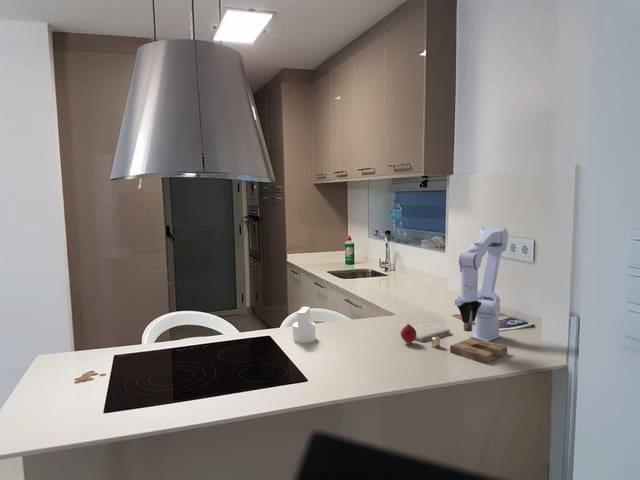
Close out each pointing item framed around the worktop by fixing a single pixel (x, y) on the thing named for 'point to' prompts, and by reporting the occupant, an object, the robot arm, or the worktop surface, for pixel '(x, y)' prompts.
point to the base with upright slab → (304, 327)
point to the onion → (408, 334)
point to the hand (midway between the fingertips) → (468, 321)
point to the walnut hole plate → (478, 350)
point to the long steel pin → (469, 325)
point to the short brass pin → (436, 342)
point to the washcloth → (429, 331)
